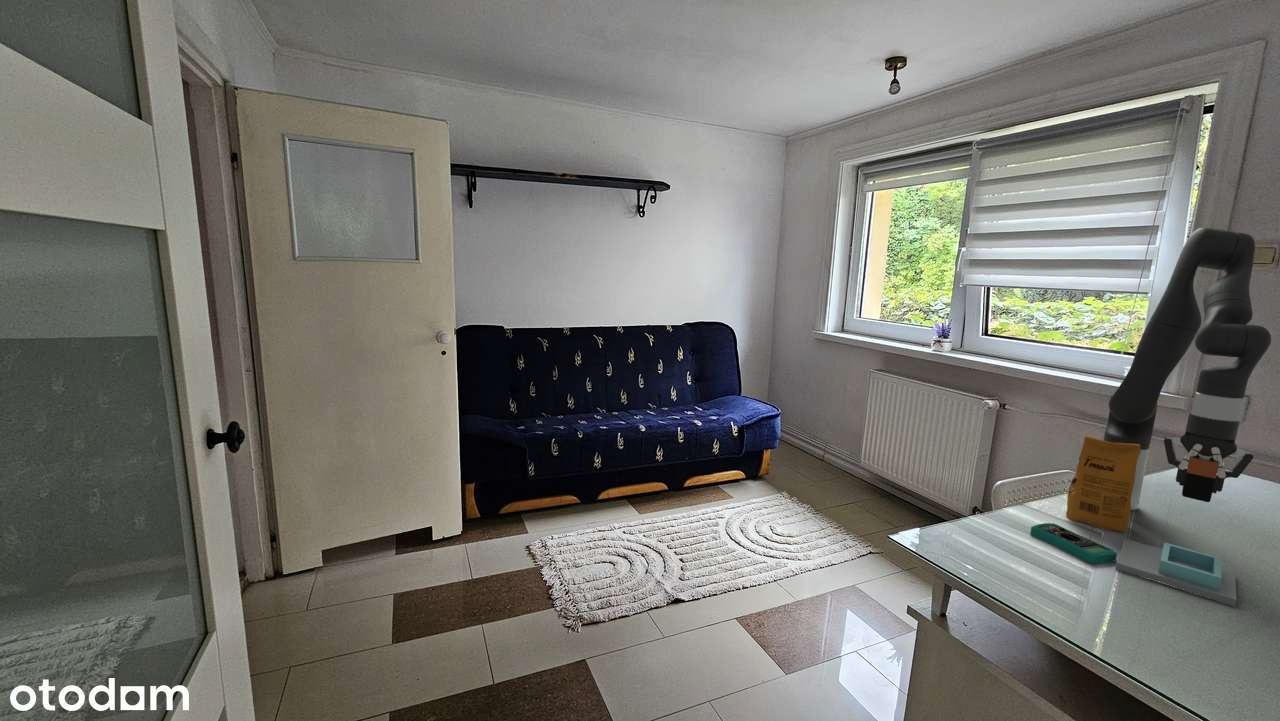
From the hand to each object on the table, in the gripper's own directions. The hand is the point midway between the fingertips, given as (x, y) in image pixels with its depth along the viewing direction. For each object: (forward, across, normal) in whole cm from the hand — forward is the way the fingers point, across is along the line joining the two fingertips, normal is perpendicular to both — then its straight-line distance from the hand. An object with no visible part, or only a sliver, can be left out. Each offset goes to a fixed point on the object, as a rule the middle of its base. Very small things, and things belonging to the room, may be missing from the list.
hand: (1197, 488), depth 116 cm
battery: (+2, 0, 0) cm, 2 cm away
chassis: (+16, 0, -14) cm, 21 cm away
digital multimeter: (+17, -17, -17) cm, 29 cm away
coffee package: (+16, -16, +5) cm, 23 cm away
